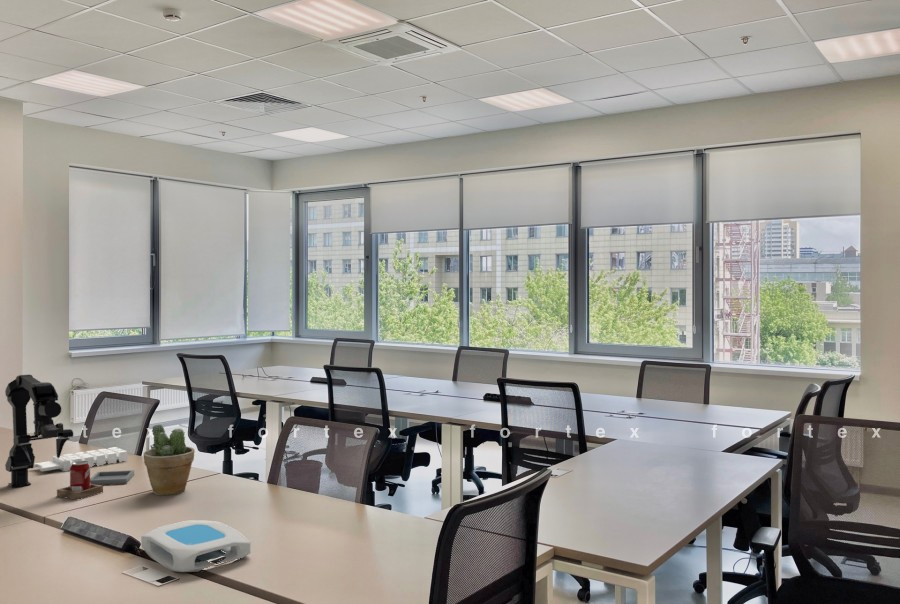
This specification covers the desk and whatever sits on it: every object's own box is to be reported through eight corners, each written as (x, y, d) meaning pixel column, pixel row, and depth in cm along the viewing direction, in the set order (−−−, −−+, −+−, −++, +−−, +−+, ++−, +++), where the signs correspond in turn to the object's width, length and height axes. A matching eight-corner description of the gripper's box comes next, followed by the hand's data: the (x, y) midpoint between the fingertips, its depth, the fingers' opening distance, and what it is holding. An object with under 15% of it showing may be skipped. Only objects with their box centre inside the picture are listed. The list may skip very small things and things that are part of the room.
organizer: (127, 451, 328) (41, 464, 303) (127, 462, 328) (42, 476, 303) (115, 446, 337) (31, 459, 312) (115, 457, 338) (31, 470, 312)
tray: (88, 485, 288) (88, 480, 287) (97, 476, 301) (97, 471, 301) (126, 483, 290) (126, 478, 290) (134, 475, 304) (134, 470, 304)
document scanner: (207, 535, 231) (207, 515, 231) (252, 558, 211) (252, 537, 211) (140, 551, 217) (140, 530, 217) (181, 578, 197) (181, 555, 197)
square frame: (56, 496, 272) (56, 489, 272) (82, 489, 283) (82, 482, 283) (78, 499, 268) (78, 493, 268) (103, 492, 278) (103, 485, 278)
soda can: (81, 497, 271) (81, 465, 271) (65, 496, 273) (65, 464, 273) (94, 492, 278) (94, 461, 278) (78, 491, 279) (78, 460, 279)
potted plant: (203, 485, 288) (203, 422, 288) (181, 499, 270) (181, 431, 269) (158, 484, 290) (158, 421, 289) (133, 497, 271) (133, 430, 271)
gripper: (22, 421, 258) (24, 465, 257) (78, 414, 272) (80, 456, 271) (12, 420, 265) (13, 464, 264) (66, 414, 279) (68, 455, 278)
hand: (44, 460), depth 269 cm, fingers open, 9 cm apart
